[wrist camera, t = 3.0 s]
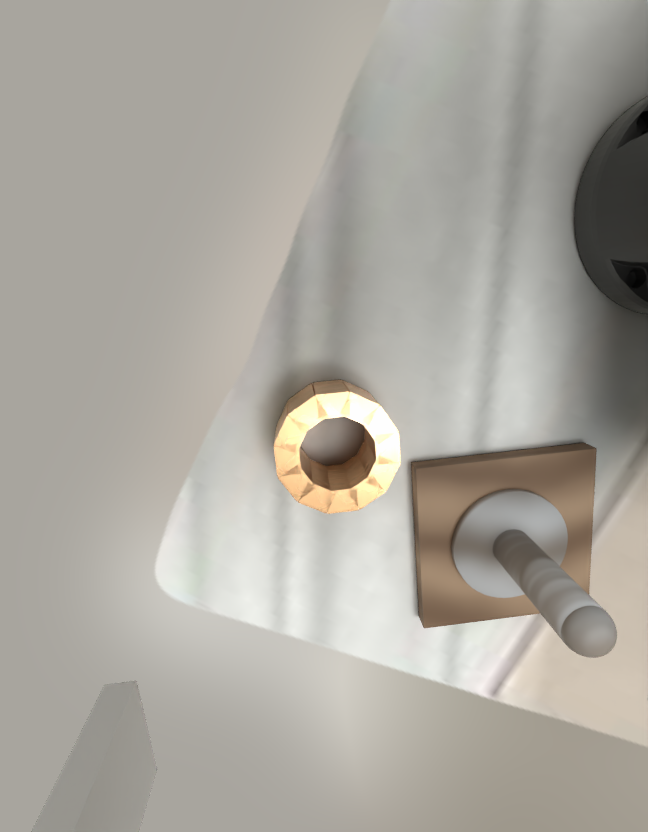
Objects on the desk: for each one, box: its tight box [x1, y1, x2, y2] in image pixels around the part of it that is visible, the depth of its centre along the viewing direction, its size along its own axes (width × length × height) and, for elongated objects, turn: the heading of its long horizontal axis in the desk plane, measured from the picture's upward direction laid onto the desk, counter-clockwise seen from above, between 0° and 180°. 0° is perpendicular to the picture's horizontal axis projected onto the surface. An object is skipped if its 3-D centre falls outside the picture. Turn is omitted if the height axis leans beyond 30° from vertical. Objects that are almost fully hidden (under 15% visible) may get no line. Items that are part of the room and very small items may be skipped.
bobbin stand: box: [411, 443, 617, 658], centre depth 31 cm, size 14×14×13 cm
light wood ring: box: [274, 380, 401, 514], centre depth 32 cm, size 8×8×5 cm
